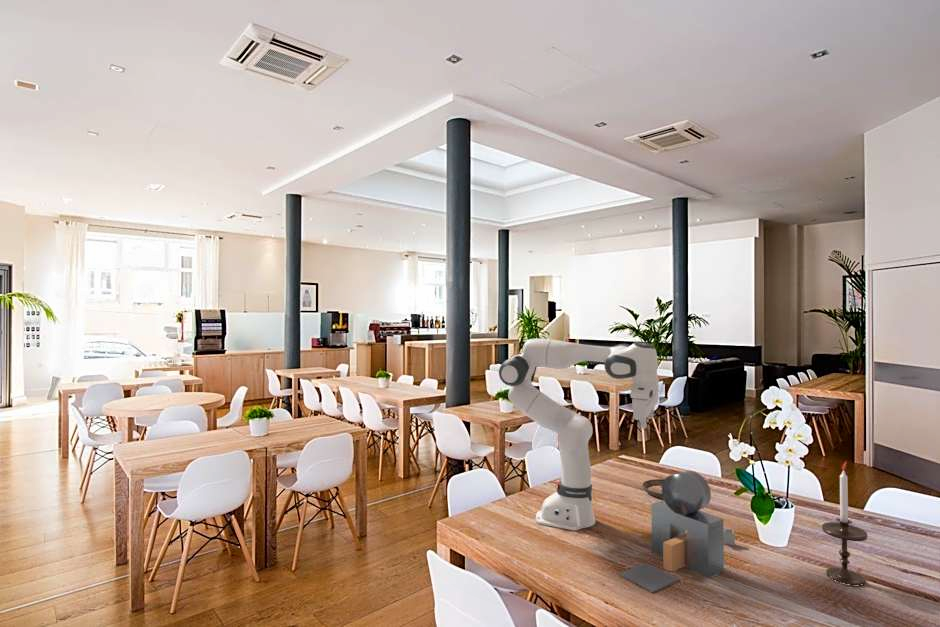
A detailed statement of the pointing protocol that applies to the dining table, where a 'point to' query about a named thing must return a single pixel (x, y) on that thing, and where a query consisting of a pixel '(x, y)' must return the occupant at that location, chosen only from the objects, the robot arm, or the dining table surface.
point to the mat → (648, 577)
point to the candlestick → (844, 537)
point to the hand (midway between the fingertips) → (647, 422)
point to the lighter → (729, 536)
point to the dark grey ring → (653, 483)
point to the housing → (689, 522)
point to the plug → (675, 553)
